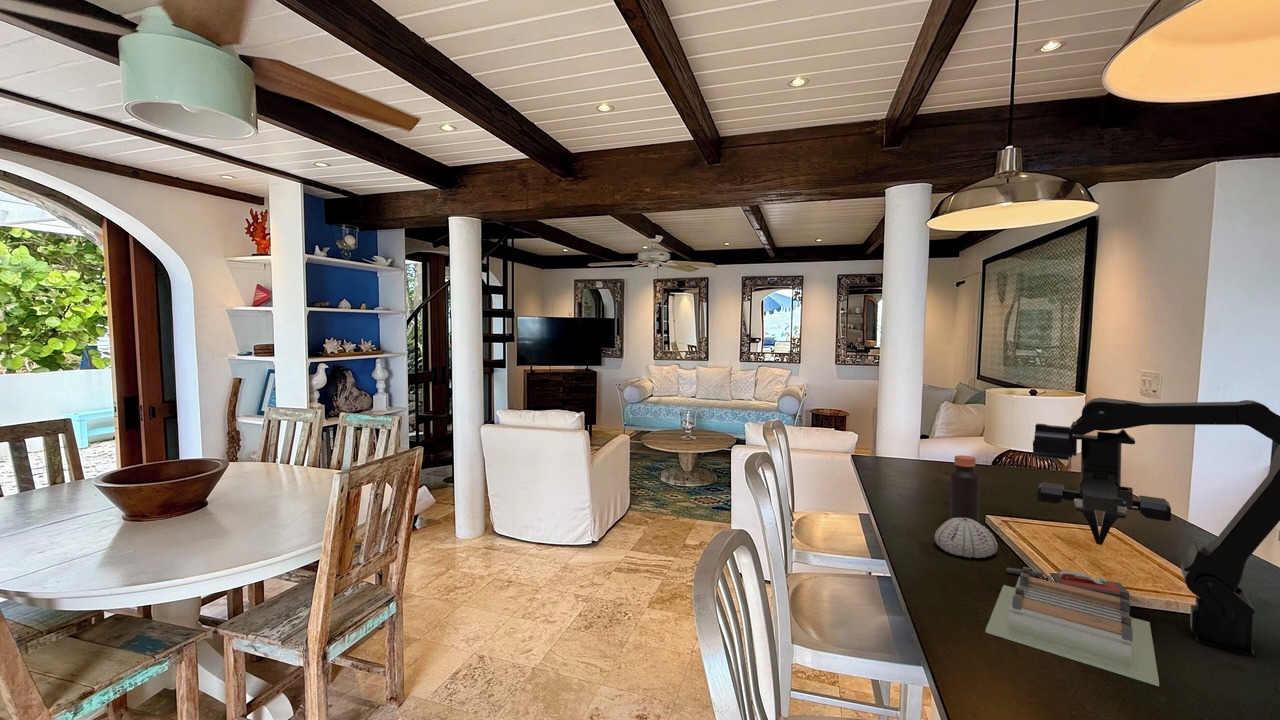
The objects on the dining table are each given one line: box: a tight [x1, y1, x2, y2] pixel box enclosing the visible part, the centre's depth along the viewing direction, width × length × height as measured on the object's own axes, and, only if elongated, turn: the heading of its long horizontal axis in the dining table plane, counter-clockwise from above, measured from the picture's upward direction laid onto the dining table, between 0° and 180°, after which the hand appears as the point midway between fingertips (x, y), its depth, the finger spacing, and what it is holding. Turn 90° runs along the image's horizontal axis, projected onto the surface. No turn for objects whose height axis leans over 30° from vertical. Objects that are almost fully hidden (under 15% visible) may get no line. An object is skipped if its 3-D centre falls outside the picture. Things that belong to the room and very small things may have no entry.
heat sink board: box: [985, 566, 1160, 687], centre depth 93 cm, size 22×22×7 cm
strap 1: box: [1020, 572, 1127, 607], centre depth 97 cm, size 15×3×1 cm, turn 48°
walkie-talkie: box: [1005, 567, 1131, 598], centre depth 107 cm, size 9×4×20 cm
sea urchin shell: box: [934, 518, 999, 559], centre depth 128 cm, size 13×14×8 cm
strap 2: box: [1014, 593, 1130, 634], centre depth 88 cm, size 15×3×1 cm, turn 48°
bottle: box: [949, 454, 980, 524], centre depth 142 cm, size 7×7×20 cm
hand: (1099, 544), depth 99 cm, fingers closed
